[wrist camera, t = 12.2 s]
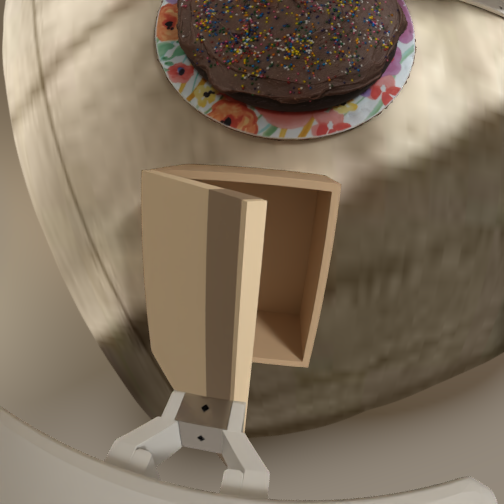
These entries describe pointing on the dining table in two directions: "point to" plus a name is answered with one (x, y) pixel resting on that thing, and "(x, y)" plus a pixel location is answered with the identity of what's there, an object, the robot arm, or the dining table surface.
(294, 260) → the carton
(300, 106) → the chocolate cake
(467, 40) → the dining table surface
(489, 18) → the dining table surface
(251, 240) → the lid
